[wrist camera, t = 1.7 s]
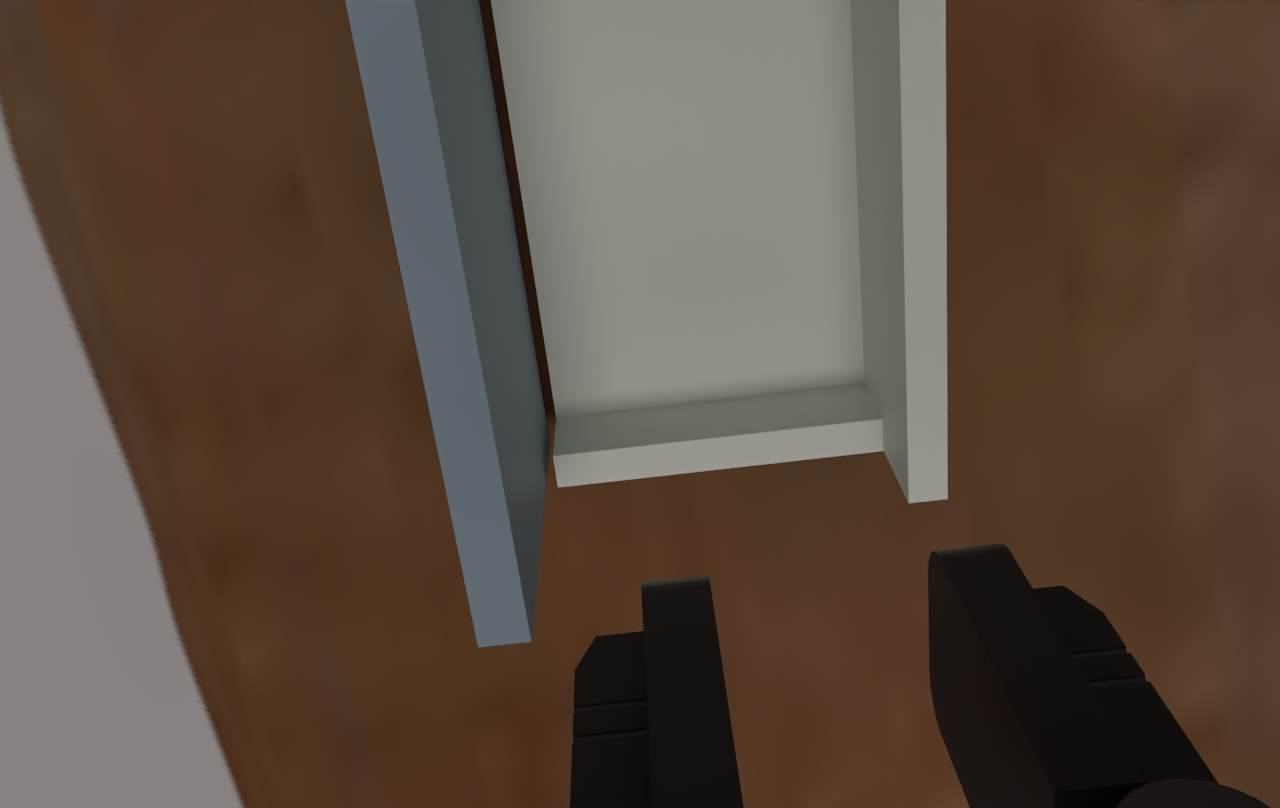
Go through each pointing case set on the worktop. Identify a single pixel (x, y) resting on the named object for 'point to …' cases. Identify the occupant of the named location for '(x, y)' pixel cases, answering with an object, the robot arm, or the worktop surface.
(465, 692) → the worktop surface
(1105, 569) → the worktop surface
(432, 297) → the tailgate
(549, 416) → the worktop surface
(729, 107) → the cart
